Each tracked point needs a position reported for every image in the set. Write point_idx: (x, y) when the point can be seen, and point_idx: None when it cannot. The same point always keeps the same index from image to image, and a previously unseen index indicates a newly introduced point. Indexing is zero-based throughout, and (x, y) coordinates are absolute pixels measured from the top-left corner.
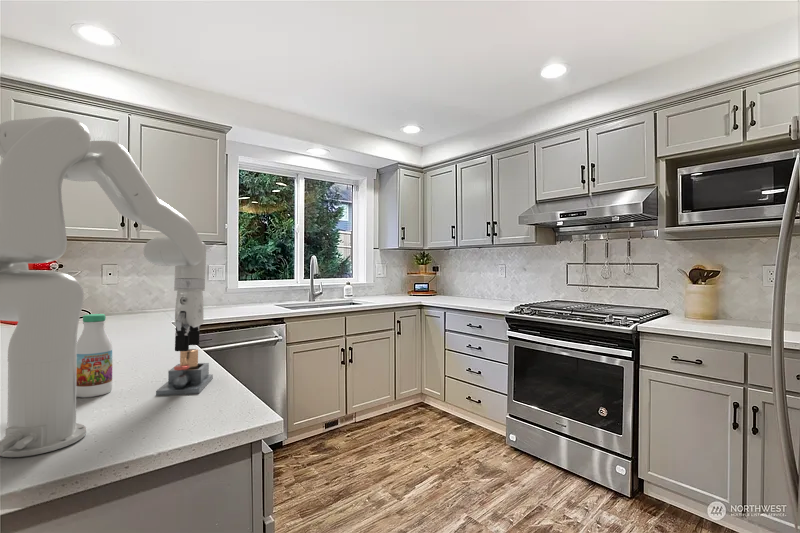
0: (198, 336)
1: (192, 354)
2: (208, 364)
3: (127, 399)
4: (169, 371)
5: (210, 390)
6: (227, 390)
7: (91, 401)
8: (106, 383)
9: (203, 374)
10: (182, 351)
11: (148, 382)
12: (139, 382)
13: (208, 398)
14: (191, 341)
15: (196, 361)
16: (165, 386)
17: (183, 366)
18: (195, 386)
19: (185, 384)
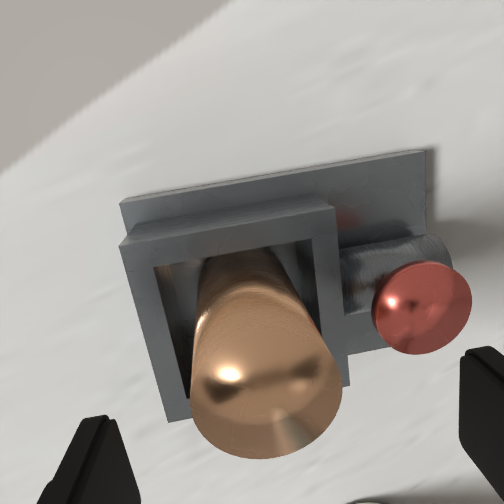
0: (69, 501)
1: (316, 334)
2: (129, 241)
3: (444, 401)
4: (348, 379)
5: (361, 111)
6: (370, 2)
7: (446, 490)
8: None
9: (262, 209)
10: (303, 432)
11: (215, 459)
12: (216, 489)
13: (497, 63)
14: (121, 500)
15: (267, 288)
16: (361, 336)
17: (427, 301)
18: (377, 191)
19: (406, 237)
